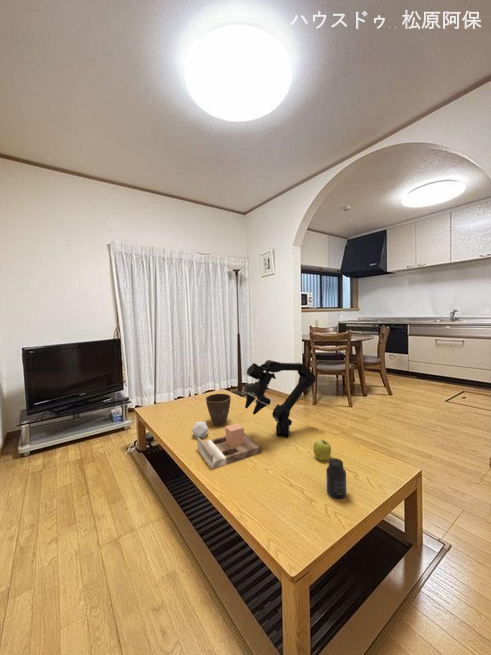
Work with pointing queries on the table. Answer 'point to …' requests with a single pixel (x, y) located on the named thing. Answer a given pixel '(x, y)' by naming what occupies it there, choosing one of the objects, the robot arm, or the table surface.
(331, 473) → the supplement bottle
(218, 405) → the plant pot
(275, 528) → the table surface
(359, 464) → the table surface
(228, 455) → the brown piece
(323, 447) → the apple
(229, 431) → the block
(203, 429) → the die
